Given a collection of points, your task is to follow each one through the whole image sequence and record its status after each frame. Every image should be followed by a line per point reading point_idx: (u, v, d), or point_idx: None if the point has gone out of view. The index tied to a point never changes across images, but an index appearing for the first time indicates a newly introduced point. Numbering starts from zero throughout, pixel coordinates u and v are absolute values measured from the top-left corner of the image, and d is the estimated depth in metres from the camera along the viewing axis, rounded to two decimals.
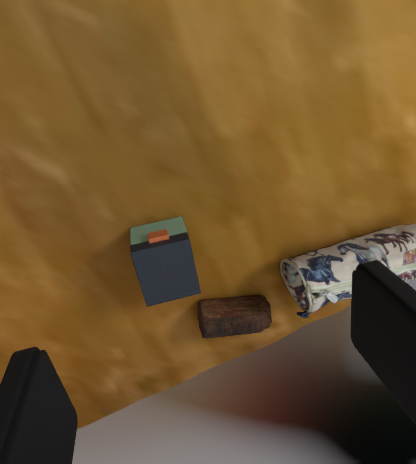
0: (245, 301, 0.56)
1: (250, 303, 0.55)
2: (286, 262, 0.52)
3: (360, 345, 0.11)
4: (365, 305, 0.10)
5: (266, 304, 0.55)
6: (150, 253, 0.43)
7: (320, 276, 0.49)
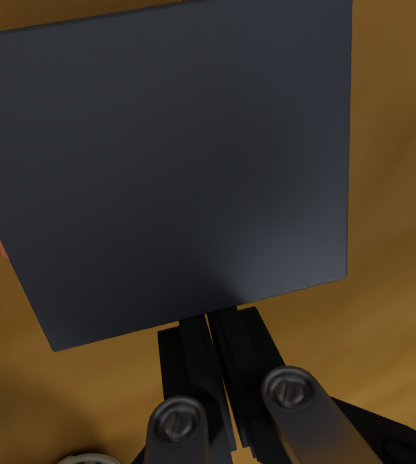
0: None
1: None
2: None
3: (215, 353, 0.12)
4: (208, 316, 0.11)
5: None
6: (322, 101, 0.08)
7: None
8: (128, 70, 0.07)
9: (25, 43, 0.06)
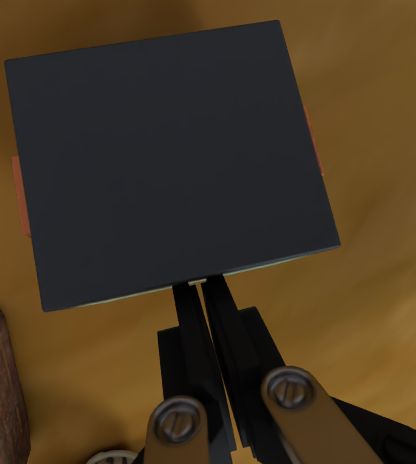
0: (19, 420, 0.21)
1: (18, 436, 0.21)
2: None
3: (216, 353, 0.12)
4: (209, 316, 0.11)
5: None
6: (275, 89, 0.11)
7: None
8: (134, 70, 0.10)
9: (72, 56, 0.10)
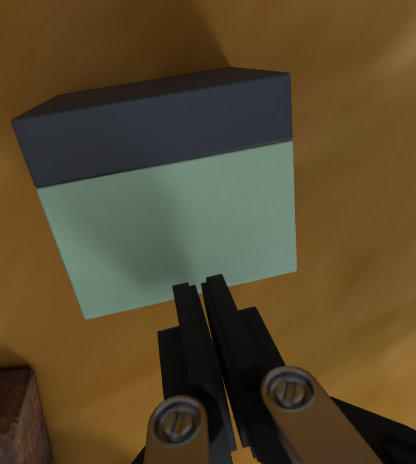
0: (46, 462, 0.24)
1: None
2: None
3: (216, 353, 0.12)
4: (208, 316, 0.11)
5: None
6: (229, 70, 0.15)
7: None
8: (134, 83, 0.16)
9: None
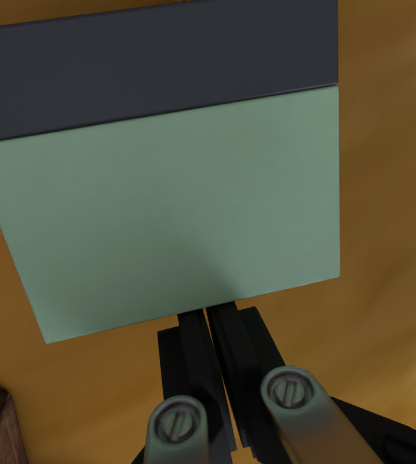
0: None
1: None
2: None
3: (216, 353, 0.12)
4: (209, 316, 0.11)
5: None
6: None
7: None
8: None
9: None
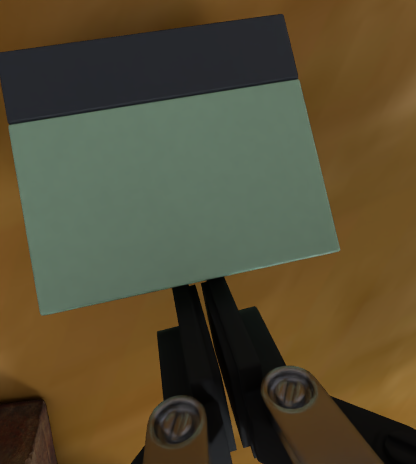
0: None
1: None
2: None
3: (216, 353, 0.12)
4: (209, 316, 0.11)
5: None
6: None
7: None
8: None
9: None
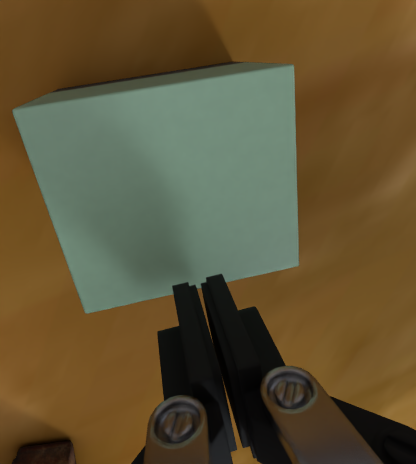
0: None
1: None
2: None
3: (216, 353, 0.12)
4: (208, 316, 0.11)
5: None
6: None
7: None
8: None
9: None
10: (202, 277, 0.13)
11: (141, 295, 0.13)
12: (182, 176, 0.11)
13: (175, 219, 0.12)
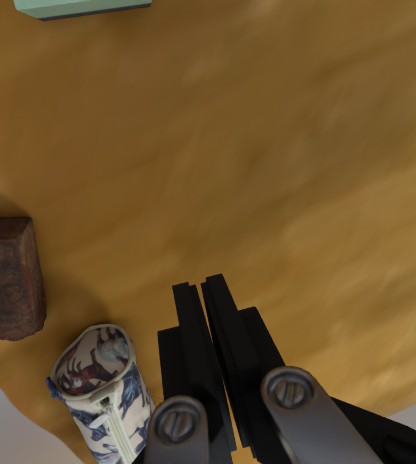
0: (40, 291, 0.35)
1: (39, 299, 0.34)
2: (125, 336, 0.36)
3: (216, 353, 0.12)
4: (208, 316, 0.11)
5: (41, 324, 0.35)
6: None
7: (127, 392, 0.34)
8: None
9: None
10: None
11: (51, 0, 0.21)
12: None
13: None
